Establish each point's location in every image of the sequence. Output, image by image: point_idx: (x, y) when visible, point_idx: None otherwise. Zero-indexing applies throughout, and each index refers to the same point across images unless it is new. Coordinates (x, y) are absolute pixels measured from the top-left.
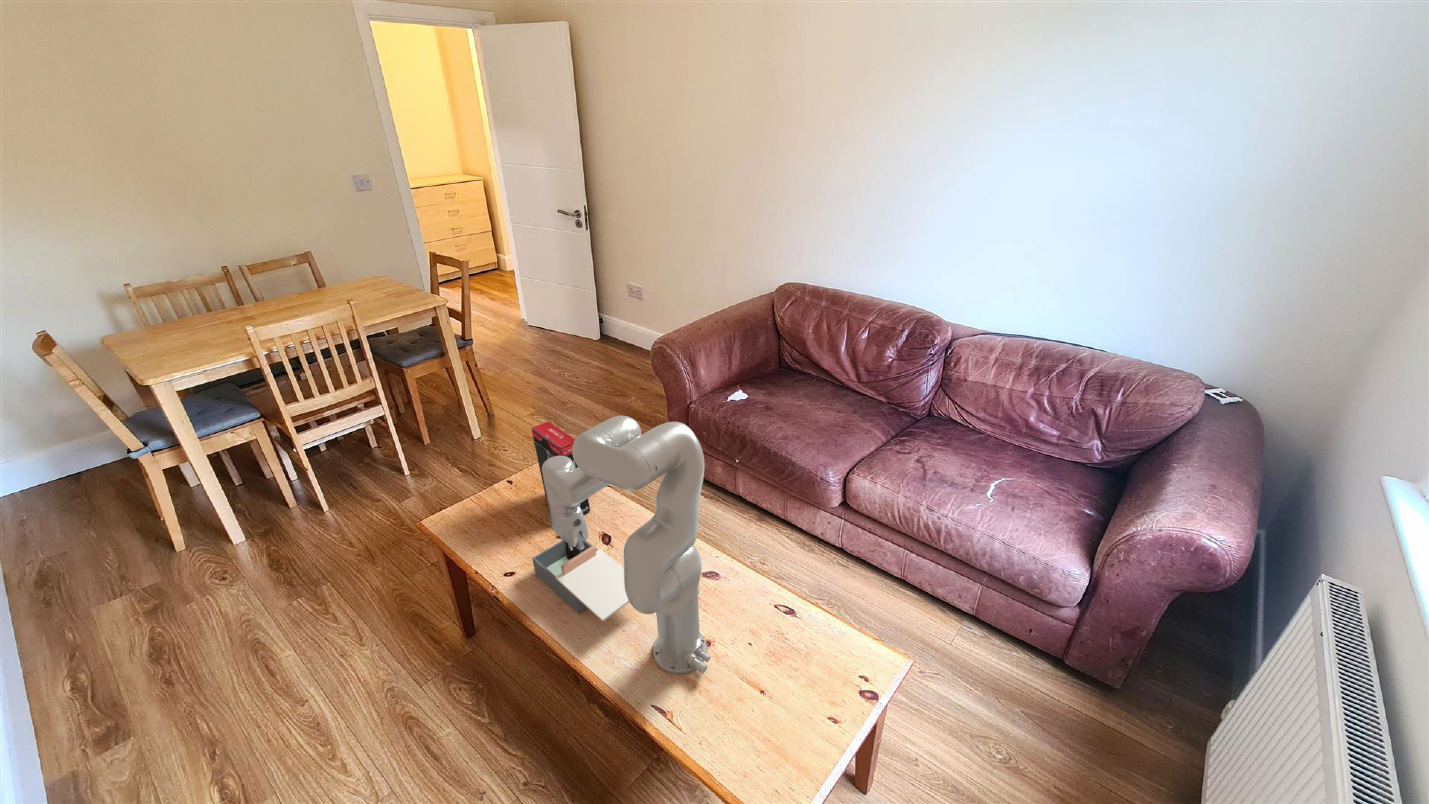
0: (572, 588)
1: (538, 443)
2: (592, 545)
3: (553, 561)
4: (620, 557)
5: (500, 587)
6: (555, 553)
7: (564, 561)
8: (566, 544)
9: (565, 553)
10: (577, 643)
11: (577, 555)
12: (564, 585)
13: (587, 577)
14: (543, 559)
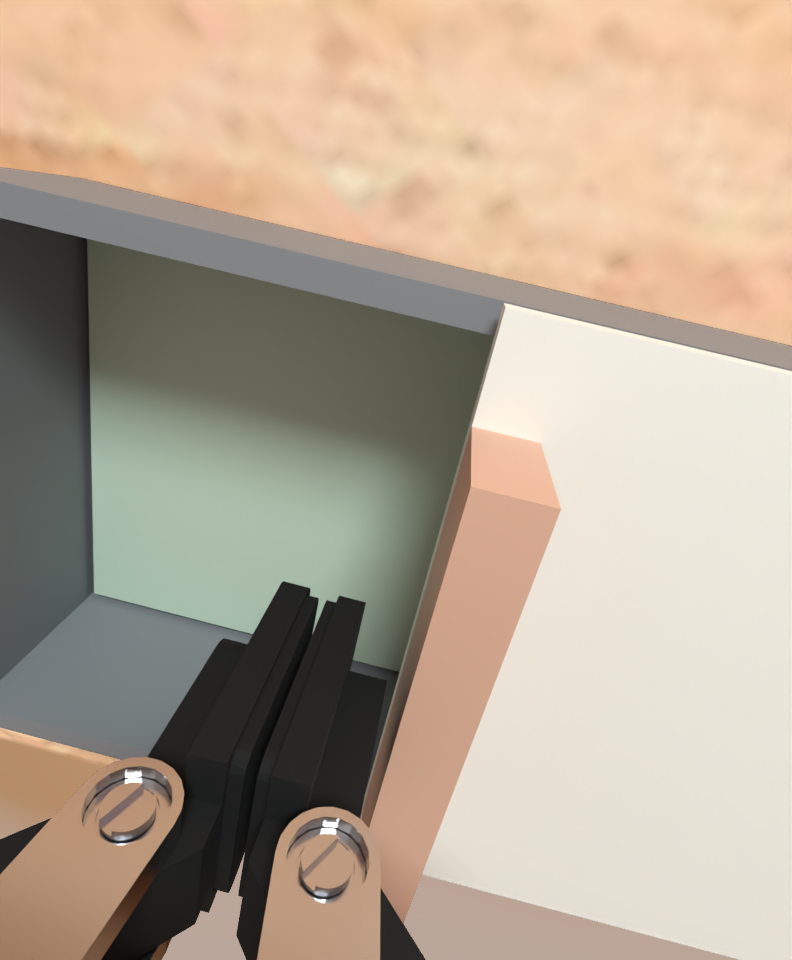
0: (606, 904)
1: None
2: (304, 254)
3: (77, 479)
4: (587, 5)
5: (30, 736)
6: (23, 478)
7: (143, 422)
8: (155, 957)
9: (69, 357)
10: None
11: (399, 749)
12: (504, 894)
13: (673, 773)
14: (22, 598)
